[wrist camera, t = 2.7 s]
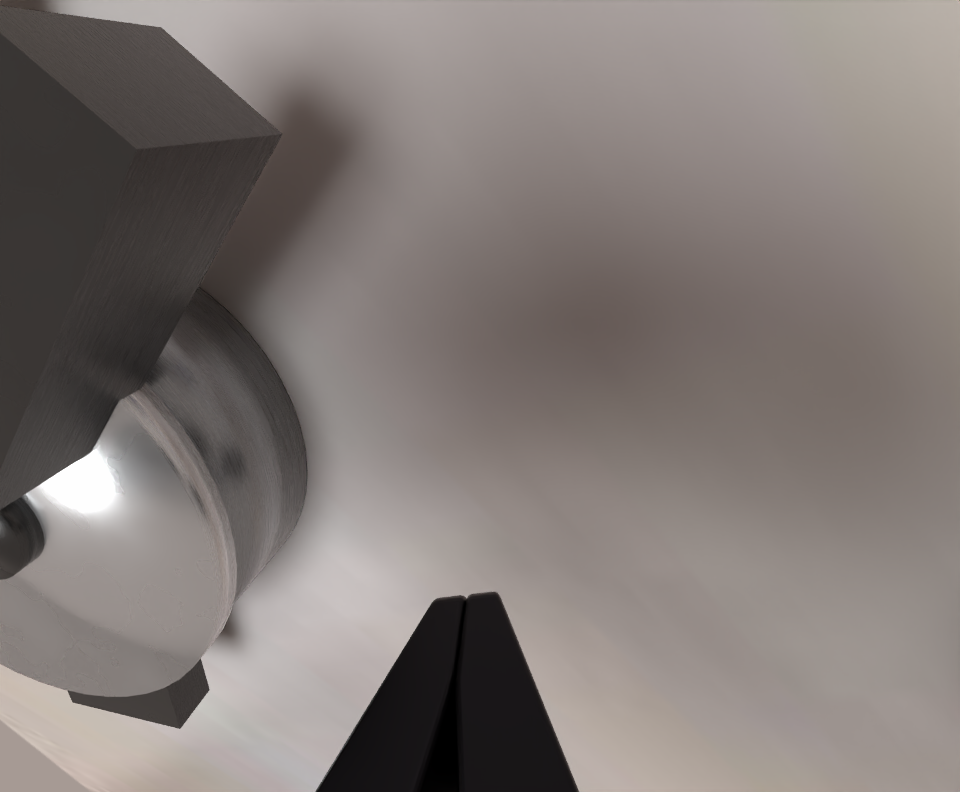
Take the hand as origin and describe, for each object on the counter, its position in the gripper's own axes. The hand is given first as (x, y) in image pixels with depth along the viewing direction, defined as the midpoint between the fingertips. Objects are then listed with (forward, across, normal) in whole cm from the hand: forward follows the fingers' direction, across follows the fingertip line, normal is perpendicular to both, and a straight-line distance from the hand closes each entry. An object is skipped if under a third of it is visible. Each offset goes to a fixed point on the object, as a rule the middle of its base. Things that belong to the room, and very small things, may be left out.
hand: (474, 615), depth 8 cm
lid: (+9, +12, +1) cm, 15 cm away
